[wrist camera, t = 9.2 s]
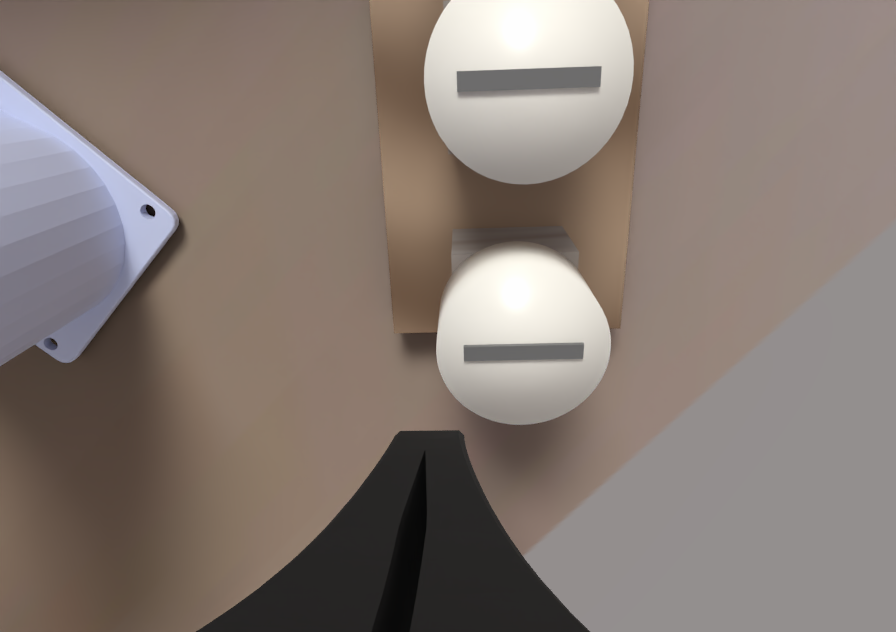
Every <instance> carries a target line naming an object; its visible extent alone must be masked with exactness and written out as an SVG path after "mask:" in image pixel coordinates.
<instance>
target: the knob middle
mask: <svg viewBox="0 0 896 632" xmlns="http://www.w3.org/2000/svg"><path fill="white" fill-rule="evenodd" d="M633 72H634V58H633V48H632V42H631V38H630V34H629V30H628V27H627V25H626V22H625V19H624V17H623V15H622V13H621V11H620V9H619V8H618V6H617V4H616V3H615V1H614V0H451V1H450V2H449V3H448V5H447V6H446V8H445V9H444V10H443V12H442V14H441V16H440V17H439V19H438V21H437V23H436V25H435V27H434V30H433V32H432V35H431V37H430V41H429V44H428V48H427V52H426V58H425V66H424V88H425V97H426V102H427V106H428V110H429V113H430V116H431V119H432V121H433V124H434V126H435V128H436V130H437V132H438V134H439V136H440V137H441V139H442V140H443V142H444V143H445V145H446V146H447V147H448V149H449V150H450V151H451V152H452V153H453V154H454V155H455V156H456V157H457V158H458V159H459V160H460V161H461V162H463V163H464V164H465V165H466V166H468V167H469V168H471V169H472V170H474V171H475V172H477V173H479V174H481V175H483V176H485V177H487V178H490V179H493V180H496V181H500V182H504V183H510V184H537V183H542V182H547V181H551V180H554V179H557V178H559V177H562V176H565V175H567V174H569V173H570V172H572V171H574V170H576V169H578V168H579V167H581V166H582V165H583V164H585V163H586V162H588V161H589V160H590V159H591V158H592V157H593V156H595V155H596V154H597V153H598V152H599V151H600V150H601V148H602V147H603V146H604V145H605V144H606V143H607V142H608V140H609V139H610V137H611V136H612V134H613V133H614V132H615V130H616V128H617V126H618V125H619V123H620V121H621V119H622V117H623V114H624V112H625V109H626V107H627V104H628V101H629V97H630V93H631V89H632V82H633Z"/></svg>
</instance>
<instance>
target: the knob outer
mask: <svg viewBox="0 0 896 632" xmlns="http://www.w3.org/2000/svg"><path fill="white" fill-rule="evenodd" d="M610 350H611V336H610V329H609V325H608V322H607V319H606V316H605V314H604V312H603V310H602V308H601V306H600V305H599V303H598V301H597V300H596V298H595V297H594V295H593V293H592V292H591V290H590V288H589V287H588V285H587V283H586V282H585V280H584V278H583V277H582V275H581V274H580V272H579V271H578V269H577V268H576V267H575V266H574V265H573V264H572V262H570V261H569V260H568V259H567V258H566V257H565V256H563V255H562V254H560V253H558V252H557V251H555V250H553V249H551V248H549V247H547V246H544V245H540V244H537V243H532V242H524V241H513V242H504V243H499V244H495V245H492V246H489V247H486V248H484V249H482V250H480V251H478V252H476V253H475V254H473V255H472V256H470V257H469V258H467V259H466V260H465V261H464V262H463V263H462V264H461V265H460V266H459V267H458V268H457V269H456V270H455V271H454V273H453V274H452V276H451V277H450V279H449V280H448V282H447V284H446V286H445V288H444V291H443V294H442V297H441V302H440V309H439V320H438V331H437V342H436V355H437V363H438V367H439V371H440V374H441V376H442V378H443V381H444V383H445V384H446V386H447V388H448V389H449V391H450V392H451V393H452V394H453V396H454V397H455V398H456V399H457V400H458V401H459V402H460V403H461V404H462V405H463V406H465V407H466V408H468V409H469V410H470V411H472V412H474V413H476V414H477V415H479V416H481V417H484V418H486V419H489V420H492V421H495V422H499V423H504V424H511V425H527V424H536V423H541V422H545V421H549V420H552V419H555V418H557V417H559V416H562V415H564V414H566V413H567V412H569V411H571V410H573V409H574V408H575V407H577V406H578V405H579V404H581V403H582V402H583V401H584V400H585V399H586V398H587V397H588V396H589V395H590V394H591V393H592V392H593V391H594V389H595V388H596V387H597V385H598V384H599V382H600V381H601V379H602V377H603V375H604V373H605V370H606V368H607V365H608V361H609V357H610Z"/></svg>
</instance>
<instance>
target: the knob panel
mask: <svg viewBox="0 0 896 632" xmlns="http://www.w3.org/2000/svg"><path fill="white" fill-rule="evenodd" d="M450 1H451V0H369V4H370V17H371V30H372V44H373V57H374V70H375V84H376V97H377V110H378V124H379V137H380V150H381V164H382V177H383V190H384V204H385V217H386V230H387V244H388V257H389V270H390V284H391V297H392V310H393V324H394V333H430V332H437V331H438V320H439V309H440V302H441V297H442V294H443V291H444V288H445V286H446V284H447V282H448V280H449V279H450V277H451V276H452V274H453V273H454V271H455V270H456V269H457V268H458V267H459V266H460V265H461V264H462V263H463V262H464V261H465V260H466V259H467V258H469V257H470V256H472V255H473V254H475V253H476V252H478V251H480V250H482V249H484V248H486V247H489V246H492V245H495V244H499V243H504V242H513V241H524V242H532V243H537V244H540V245H544V246H547V247H549V248H551V249H553V250H555V251H557V252H558V253H560V254H562V255H563V256H565V257H566V258H567V259H568V260H569V261H570V262H572V264H573V265H574V266H575V267H576V268H577V269H578V271H579V272H580V274H581V275H582V277H583V278H584V280H585V282H586V283H587V285H588V287H589V288H590V290H591V292H592V293H593V295H594V297H595V298H596V300H597V301H598V303H599V305H600V306H601V308H602V310H603V312H604V314H605V316H606V319H607V322H608V325H609V329H615V328H620V324H621V312H622V301H623V290H624V278H625V267H626V256H627V245H628V233H629V222H630V211H631V199H632V188H633V177H634V165H635V154H636V143H637V132H638V120H639V109H640V98H641V86H642V75H643V64H644V53H645V41H646V30H647V19H648V7H649V0H614V1H615V3H616V4H617V6H618V8H619V9H620V11H621V13H622V15H623V17H624V19H625V22H626V25H627V27H628V30H629V34H630V38H631V42H632V48H633V58H634V72H633V82H632V89H631V93H630V97H629V101H628V104H627V107H626V109H625V112H624V114H623V117H622V119H621V121H620V123H619V125H618V126H617V128H616V130H615V132H614V133H613V134H612V136H611V137H610V139H609V140H608V142H607V143H606V144H605V145H604V146H603V147H602V148H601V150H600V151H599V152H598V153H597V154H596V155H595V156H593V157H592V158H591V159H590V160H589V161H588V162H586V163H585V164H583V165H582V166H581V167H579V168H578V169H576V170H574V171H572V172H570V173H569V174H567V175H565V176H562V177H559V178H557V179H554V180H551V181H547V182H542V183H537V184H510V183H504V182H500V181H496V180H493V179H490V178H487V177H485V176H483V175H481V174H479V173H477V172H475V171H474V170H472V169H471V168H469V167H468V166H466V165H465V164H464V163H463V162H461V161H460V160H459V159H458V158H457V157H456V156H455V155H454V154H453V153H452V152H451V151H450V150H449V149H448V147H447V146H446V145H445V143H444V142H443V140H442V139H441V137H440V136H439V134H438V132H437V130H436V128H435V126H434V124H433V121H432V119H431V116H430V113H429V110H428V106H427V102H426V97H425V88H424V66H425V58H426V52H427V48H428V44H429V41H430V37H431V35H432V32H433V30H434V27H435V25H436V23H437V21H438V19H439V17H440V16H441V14H442V12H443V10H444V9H445V8H446V6H447V5H448V3H449V2H450Z"/></svg>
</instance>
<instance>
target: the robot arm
mask: <svg viewBox="0 0 896 632" xmlns="http://www.w3.org/2000/svg"><path fill="white" fill-rule="evenodd" d="M147 204H148V205H150V206H152V207H153V208H154V209H155V213H156V214H155V217H153V216H151V215H149V214H148V213H147V211H146V206H147ZM178 225H179V218H178V216H177V214H176V212H175V211H174V210H173V209H172V208H170V207H169V206H168V205H167V204H165V203H164V202H163V201H162V200H161V199H159V198H158V197H157V196H156V195H154V194H153V193H152V192H151V191H149V190H148V189H147V188H146V187H144V186H143V185H142V184H141V183H139V182H138V181H137V180H136V179H134V178H133V177H132V176H131V175H129V174H128V173H127V172H126V171H125V170H123V169H122V168H121V167H120V166H118V165H117V164H116V163H115V162H113V161H112V160H111V159H110V158H108V157H107V156H106V155H105V154H103V153H102V152H101V151H100V150H98V149H97V148H96V147H95V146H93V145H92V144H91V143H90V142H89V141H87V140H86V139H85V138H84V137H82V136H81V135H80V134H79V133H77V132H76V131H75V130H74V129H72V128H71V127H70V126H69V125H67V124H66V123H65V122H64V121H62V120H61V119H60V118H59V117H57V116H56V115H55V114H54V113H52V112H51V111H50V110H49V109H48V108H46V107H45V106H44V105H43V104H41V103H40V102H39V101H38V100H36V99H35V98H34V97H33V96H31V95H30V94H29V93H28V92H26V91H25V90H24V89H23V88H21V87H20V86H19V85H18V84H16V83H15V82H14V81H13V80H12V79H10V78H9V77H8V76H7V75H5V74H4V73H3V72H2V71H0V366H1V365H3V364H5V363H6V362H8V361H9V360H11V359H12V358H14V357H16V356H17V355H19V354H20V353H22V352H24V351H25V350H27V349H28V348H30V347H32V346H33V345H36V346H37V347H39V348H40V349H42V350H43V351H45V352H46V353H48V354H49V355H50V356H52V357H53V358H55V359H56V360H58V361H60V362H63V363H70V362H72V361H74V360H75V359H76V358H78V357H79V356H80V355H81V353H82V352H83V351H84V349H85V348H86V347H87V345H88V344H89V343H90V342H91V340H92V339H93V338H94V336H95V335H96V334H97V332H98V331H99V330H100V328H101V327H102V326H103V325H104V323H105V322H106V321H107V319H108V318H109V317H110V315H111V314H112V313H113V312H114V310H115V309H116V308H117V306H118V305H119V304H120V302H121V301H122V300H123V298H124V297H125V296H126V295H127V293H128V292H129V291H130V289H131V288H132V287H133V285H134V284H135V283H136V281H137V280H138V279H139V278H140V276H141V275H142V274H143V272H144V271H145V270H146V268H147V267H148V266H149V265H150V263H151V262H152V261H153V259H154V258H155V257H156V255H157V254H158V253H159V251H160V250H161V249H162V248H163V246H164V245H165V244H166V242H167V241H168V240H169V238H170V237H171V236H172V234H173V233H174V232H175V231H176V229H177V227H178ZM50 338H52V339H54V340H55V341H56V342H57V345H58V346H57V345H55V344H53V343H52V342H51V339H50ZM196 632H590V631H589V630H588V629H587V628H586V627H585V626H584V625H583V624H582V623H580V621H579V620H578V619H576V618H575V617H574V616H573V615H572V614H571V613H570V612H569V610H568V609H567V608H566V607H565V606H564V605H563V604H562V603H561V601H560V600H559V599H558V598H557V597H556V596H555V595H554V594H553V593H552V591H551V590H550V589H549V588H548V587H547V586H546V585H545V584H544V583H543V582H542V580H541V579H540V578H539V577H538V575H537V574H536V573H535V572H534V571H533V569H532V568H531V566H530V565H529V564H528V563H527V561H526V560H525V559H524V557H523V556H522V555H521V553H520V552H519V550H518V549H517V548H516V546H515V545H514V543H513V542H512V540H511V539H510V537H509V536H508V534H507V533H506V531H505V530H504V528H503V526H502V525H501V523H500V521H499V520H498V518H497V516H496V515H495V513H494V511H493V509H492V508H491V506H490V504H489V502H488V500H487V498H486V496H485V494H484V492H483V490H482V488H481V486H480V484H479V482H478V480H477V477H476V475H475V473H474V470H473V468H472V465H471V462H470V460H469V457H468V454H467V450H466V446H465V441H464V435H463V434H462V433H461V432H460V431H459V430H458V431H400V432H399V433H398V434H397V435H396V436H395V437H394V439H393V440H392V442H391V444H390V445H389V447H388V449H387V450H386V452H385V453H384V455H383V456H382V458H381V459H380V461H379V462H378V464H377V465H376V466H375V468H374V469H373V471H372V472H371V473H370V475H369V476H368V477H367V479H366V480H365V481H364V483H363V484H362V485H361V487H360V488H359V489H358V491H357V492H356V493H355V494H354V496H353V497H352V498H351V499H350V500H349V502H348V503H347V504H346V505H345V506H344V507H343V509H342V510H341V511H340V512H339V513H338V514H337V516H336V517H335V518H334V519H333V520H332V521H331V522H330V523H329V525H328V526H327V527H326V528H325V529H324V530H323V531H322V532H321V533H320V534H319V535H318V536H317V537H316V538H315V539H314V540H313V541H312V542H311V543H310V544H309V545H308V546H307V547H306V548H305V549H304V550H303V551H302V552H301V553H300V554H299V555H298V556H296V557H295V558H294V559H293V560H292V561H291V562H290V563H288V564H287V565H286V566H285V567H284V568H283V569H282V570H280V571H279V572H278V573H277V574H276V575H274V576H273V577H272V578H271V579H270V580H268V581H267V582H266V583H265V584H263V585H262V586H261V587H260V588H259V589H257V590H256V591H255V592H253V593H252V594H251V595H249V596H248V597H246V598H245V599H244V600H242V601H241V602H240V603H238V604H237V605H235V606H234V607H233V608H231V609H230V610H228V611H227V612H225V613H224V614H222V615H221V616H219V617H218V618H216V619H215V620H213V621H212V622H210V623H209V624H207V625H206V626H204V627H203V628H201V629H200V630H198V631H196Z"/></svg>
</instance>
